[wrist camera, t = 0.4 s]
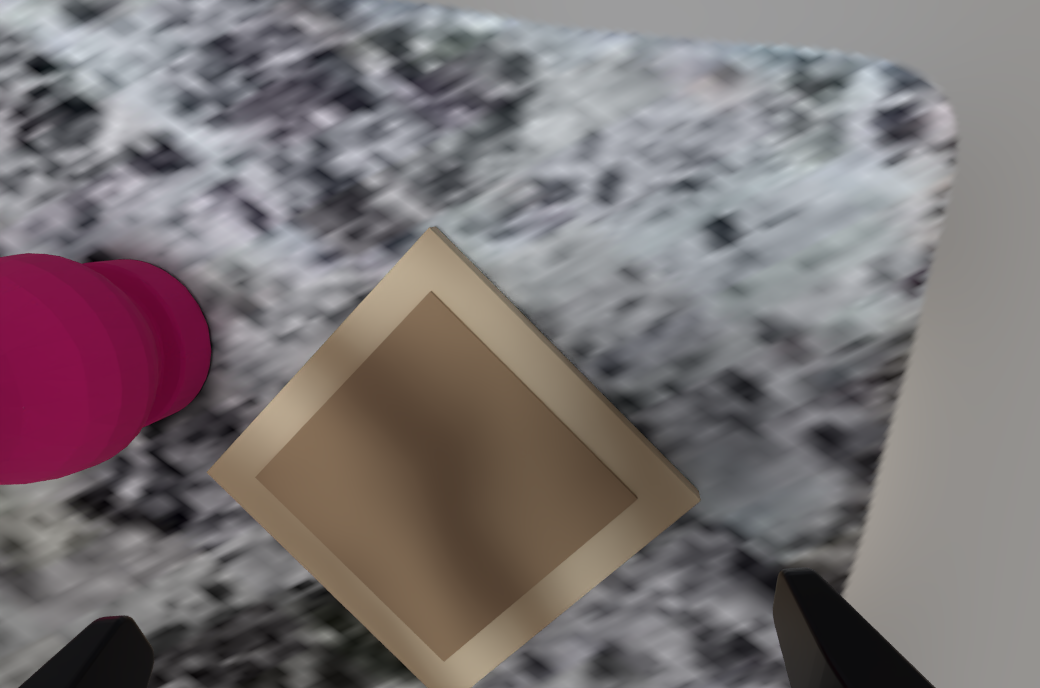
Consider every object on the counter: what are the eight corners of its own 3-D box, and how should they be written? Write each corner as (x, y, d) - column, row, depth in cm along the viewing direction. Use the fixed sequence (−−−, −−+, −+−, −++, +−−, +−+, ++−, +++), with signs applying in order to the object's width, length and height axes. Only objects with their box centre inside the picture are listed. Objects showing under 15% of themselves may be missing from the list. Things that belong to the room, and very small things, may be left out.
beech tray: (452, 692, 27) (445, 710, 26) (219, 464, 26) (203, 474, 25) (698, 490, 23) (701, 503, 22) (436, 226, 23) (427, 227, 22)
